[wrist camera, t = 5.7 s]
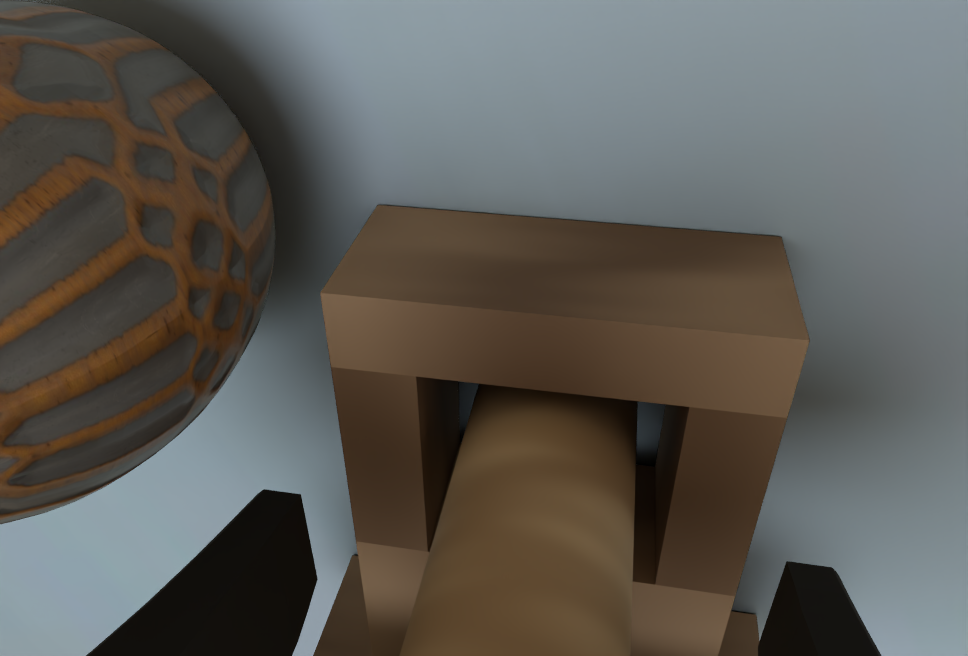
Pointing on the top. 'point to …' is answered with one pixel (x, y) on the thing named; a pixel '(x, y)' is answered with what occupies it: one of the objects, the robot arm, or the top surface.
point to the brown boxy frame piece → (566, 369)
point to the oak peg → (534, 531)
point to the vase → (115, 251)
